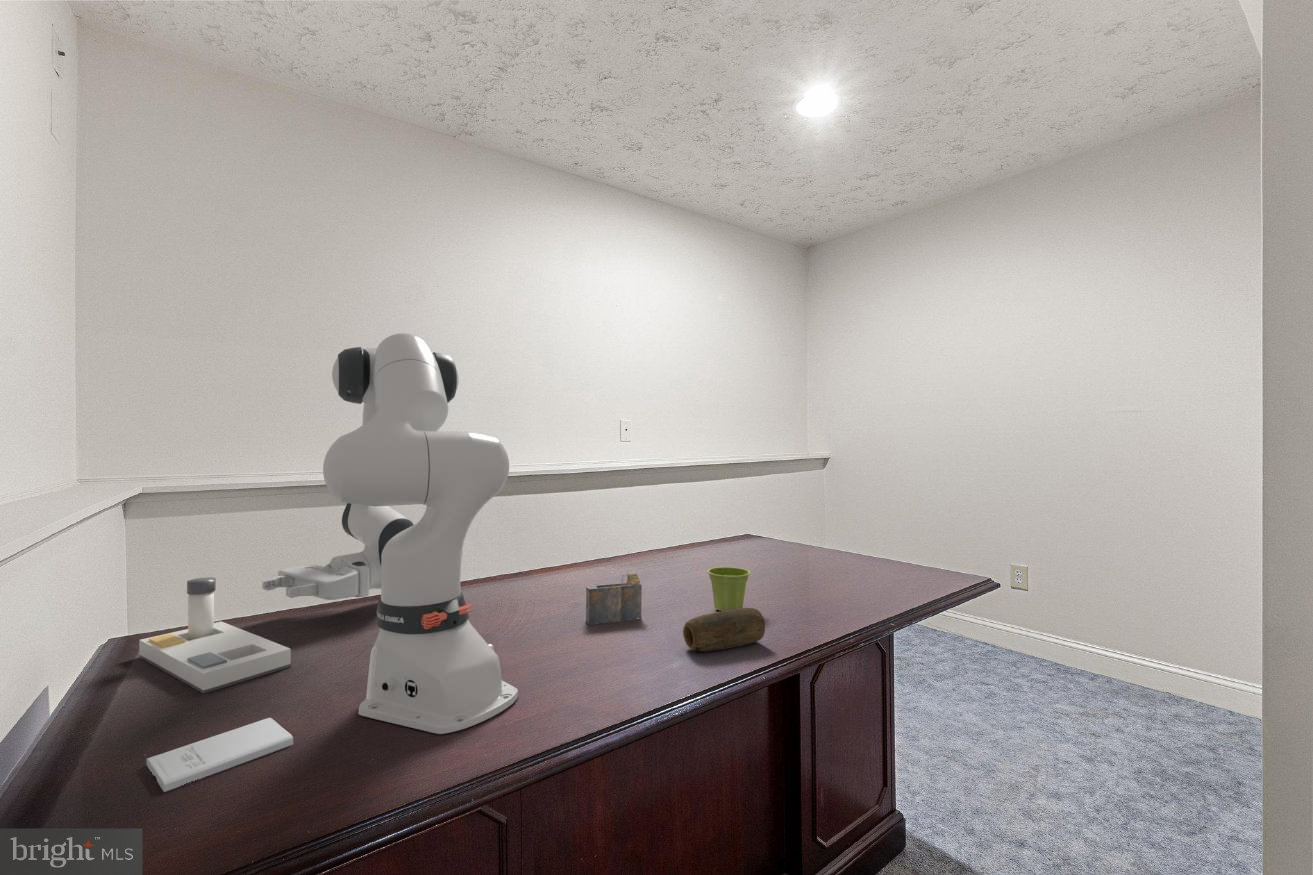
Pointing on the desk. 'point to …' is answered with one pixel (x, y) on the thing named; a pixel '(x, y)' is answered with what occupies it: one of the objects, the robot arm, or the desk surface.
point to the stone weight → (724, 629)
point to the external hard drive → (218, 753)
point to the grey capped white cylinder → (200, 607)
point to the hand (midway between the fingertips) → (275, 589)
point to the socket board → (215, 657)
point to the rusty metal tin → (614, 601)
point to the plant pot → (728, 587)
